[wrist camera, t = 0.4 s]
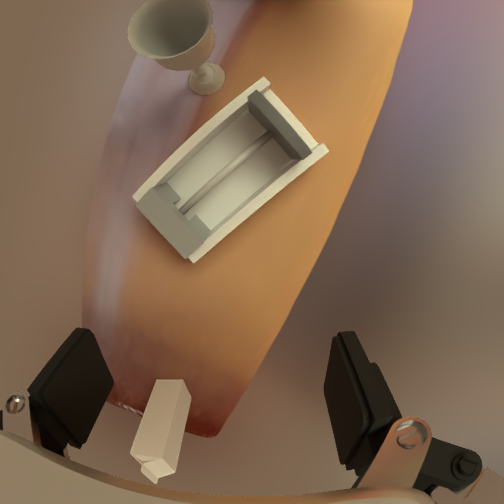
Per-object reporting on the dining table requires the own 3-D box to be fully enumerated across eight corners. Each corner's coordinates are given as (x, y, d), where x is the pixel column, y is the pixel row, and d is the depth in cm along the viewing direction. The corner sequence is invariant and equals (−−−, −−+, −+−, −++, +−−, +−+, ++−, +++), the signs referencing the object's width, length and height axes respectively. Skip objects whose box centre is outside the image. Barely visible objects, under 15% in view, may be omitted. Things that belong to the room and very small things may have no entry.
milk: (183, 378, 48) (158, 473, 27) (192, 397, 50) (173, 487, 29) (155, 378, 49) (124, 467, 28) (165, 397, 50) (141, 482, 30)
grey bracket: (262, 88, 31) (264, 73, 25) (317, 151, 34) (331, 150, 28) (149, 190, 36) (128, 197, 30) (202, 247, 39) (192, 266, 32)
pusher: (256, 105, 31) (256, 89, 23) (298, 153, 33) (312, 152, 25) (160, 191, 35) (134, 202, 27) (201, 236, 37) (186, 258, 29)
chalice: (240, 88, 31) (229, 31, 14) (195, 111, 33) (145, 75, 16) (217, 48, 29) (190, -22, 12) (173, 71, 30) (117, 18, 13)
